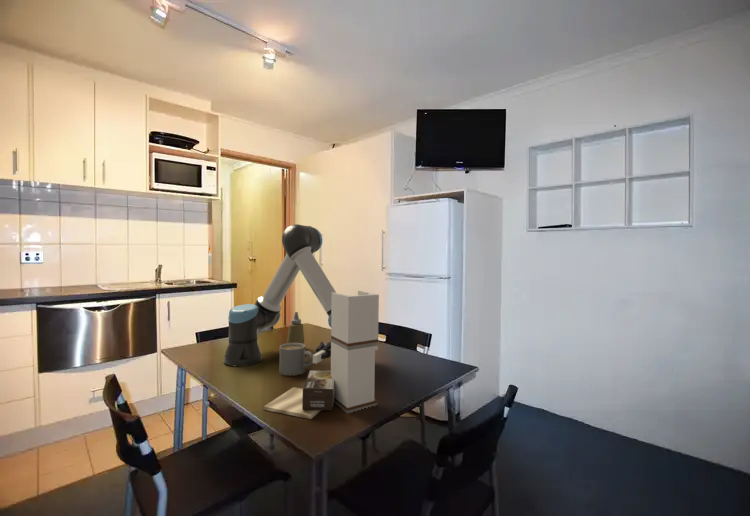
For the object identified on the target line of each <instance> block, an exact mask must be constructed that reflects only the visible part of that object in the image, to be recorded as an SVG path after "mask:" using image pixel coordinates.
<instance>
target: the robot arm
mask: <svg viewBox="0 0 750 516" xmlns="http://www.w3.org/2000/svg"><path fill="white" fill-rule="evenodd" d="M281 243H282V246H283V248H284V251H285V253H286V254H285V256H284V258H283V259H282V261H281V263H280V265H279V266H278V268H277V270H276V272H275V274H274V276H273V277H272V279H271V281H270V283H269V285H268V287H267V288H266V289H265V290H266V291H265V292H264V293H263V295H261V296H259V297H258V298H257V300H256V301H255V303H254V304H253V303H252V304H251V303H247V304H244V303H243V304H239V305H235V306H233V307H231V309H230V310H229V311H228V317H227V318H228V344H227V348H226V351H225V354H224V356H223V364H224V363H226V364H228V365H227V366H229V365H236V366H235V367H244V366H243V365H247V366H251V365H250V364H252V365H255V364H257V362H258V363H259V361H260V362H261V361H262V359H263V358H262V353H261V350H260V346H259V342H258V341H259V340H258V337H259V336H258V333H259V332H261V331H265V330H268V329H271V328H273V327H274V326H276V325H277V324H278V322H279V321H280V319H281V310H282V304H281V303H282V302H283V301H284V298H285V297H286V295H287V293H288V291H289V290H290V288H291V286H292V284H293V282H294V281H295V279H296V277H297V275H298V274H299V272H301V274H302V276H303V277H304V279H305V281H306V282H307V284H308V286H309V287H310V288H311V290H312V292H313V294H314V295H315V297H316V298H317V300H318V301H319V303H320V305H321V306H322V308H323V309H324V312H325V313H326V315H327V316H328V318H327V319H328V320H327V321H328V327H330V328H331V303H332V293H333V292H334V293H337V292H336V290H335V288H334V286H333V285H332V283H331V282H330V280H329V279H328V276H327V275H326V274H325V272H324V271H323V269H322V267H321V265H320V264H319V263H318V261H317V259H316V258H315V256H314V253H317V252H318V251H319V250H320V249H321V248H322V245H323V236H322V234H321V232H320V231H319V230H318V228H315V227H313V226H311V225H302V224H291V225H289V226H287V227H286V228H285V229H284V231H283V232H282V236H281ZM328 358H331V341H329V342H327V343H325V342H323V341H321V342H320V343H319V345H318V346H317V347H316V348H315V354H313V363H312V364H319V363H320V362H322V361H324V360H325V359H328ZM254 363H255V364H254ZM226 364H225V365H226ZM241 365H242V366H241Z"/></svg>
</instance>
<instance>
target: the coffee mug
mask: <svg viewBox="0 0 750 516" xmlns="http://www.w3.org/2000/svg"><path fill="white" fill-rule="evenodd" d="M278 351H279V356H278V357H279V361H278V362H279V365H278V371H279V372H278V373H279V374H280V375H282V376H287V375H290V377H291V375H293V376H298V374H299V375H301V374H304V373H305V372H306V368H308V367H311V365H313V364H314V363H313V355H314V354H313V353H312V352H311V351H309V350H306V345H305V343H304V344H302V343H283V344H281V345H279V350H278ZM306 356H308V358H309V362H308V361H307V359H306ZM303 372H304V373H303Z"/></svg>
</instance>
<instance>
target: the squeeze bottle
mask: <svg viewBox="0 0 750 516" xmlns="http://www.w3.org/2000/svg"><path fill="white" fill-rule="evenodd" d="M299 317H300V316H299V313H298V311H295V312H294V316H293V318H292V319H291V320H290V321H291V322H290V324H289V325H288V333H287V340H286V341H287V343H302V344H304V345H305V331H304V324H303V323H302V319H301V318H299ZM287 343H286V344H287Z"/></svg>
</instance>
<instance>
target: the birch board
mask: <svg viewBox="0 0 750 516" xmlns="http://www.w3.org/2000/svg"><path fill="white" fill-rule="evenodd" d="M302 396H303V388H301V387H300V388H299V387H292V388H290V389H289V390H287V391H285V392H284V393H282V394H281V395H279V396H278V397H276V398H274V399H273V400H272V401H270V402H268V403H267V404H265V405H264V406H263V410H264V411H268V412H272V413H280V414H283V415H288V416H293V417H297V418H302V419H303V418H304V419H308V420H312V419H313V418H314V417H316V415H318V414H319V413H320V412H321V411H322V410H302Z"/></svg>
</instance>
